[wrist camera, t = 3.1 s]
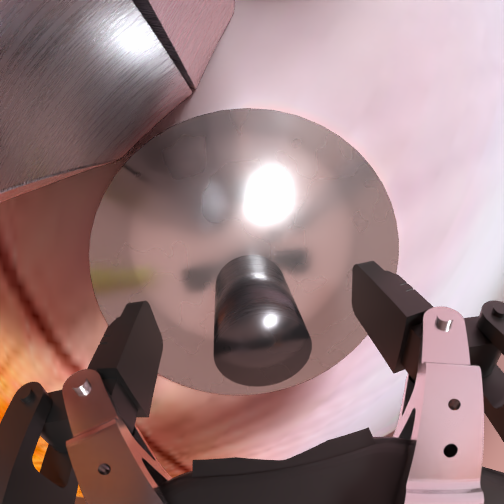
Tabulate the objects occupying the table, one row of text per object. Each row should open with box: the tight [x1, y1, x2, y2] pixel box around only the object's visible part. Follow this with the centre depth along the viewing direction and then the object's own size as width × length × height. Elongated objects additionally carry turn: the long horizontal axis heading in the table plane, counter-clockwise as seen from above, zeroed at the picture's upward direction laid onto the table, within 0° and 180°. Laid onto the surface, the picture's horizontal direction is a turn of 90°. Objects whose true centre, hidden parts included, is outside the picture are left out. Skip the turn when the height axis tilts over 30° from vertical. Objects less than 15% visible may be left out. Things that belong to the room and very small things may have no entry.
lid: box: [89, 108, 399, 395], centre depth 10 cm, size 14×14×5 cm
